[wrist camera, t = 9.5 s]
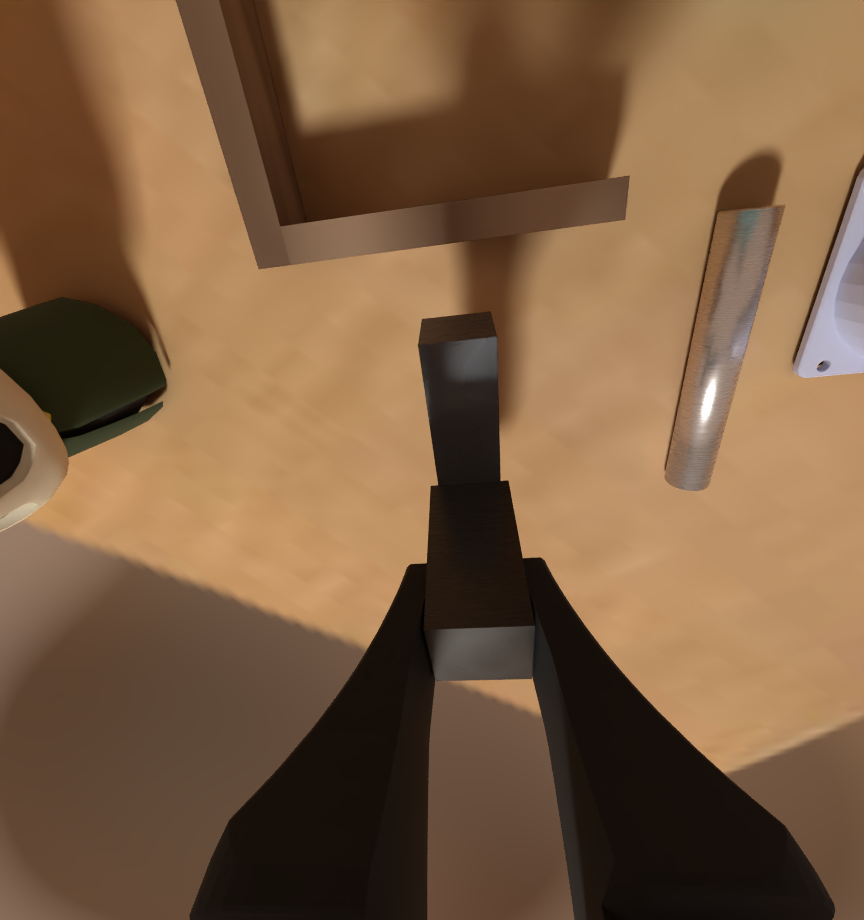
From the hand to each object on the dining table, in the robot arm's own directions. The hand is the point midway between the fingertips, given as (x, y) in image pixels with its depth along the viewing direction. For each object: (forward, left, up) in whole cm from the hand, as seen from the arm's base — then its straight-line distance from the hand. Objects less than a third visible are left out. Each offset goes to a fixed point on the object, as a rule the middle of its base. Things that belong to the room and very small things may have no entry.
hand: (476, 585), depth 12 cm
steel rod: (-11, -2, -11) cm, 15 cm away
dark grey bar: (0, -1, -5) cm, 5 cm away
